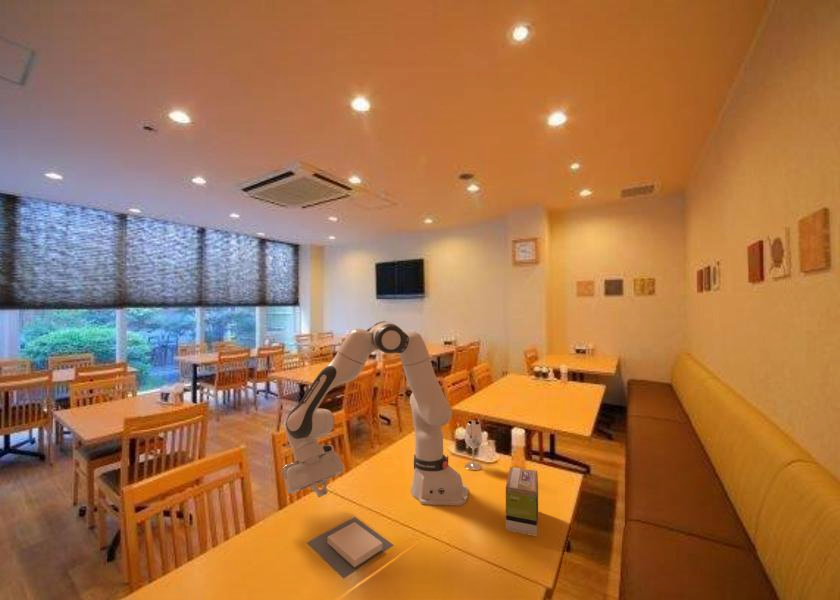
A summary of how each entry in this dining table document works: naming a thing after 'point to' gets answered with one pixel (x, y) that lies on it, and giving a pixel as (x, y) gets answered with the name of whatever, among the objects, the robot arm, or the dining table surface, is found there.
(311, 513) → the dining table surface
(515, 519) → the tea box
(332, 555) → the slate mat
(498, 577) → the dining table surface
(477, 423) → the wineglass
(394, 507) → the dining table surface
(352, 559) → the glazed tile
